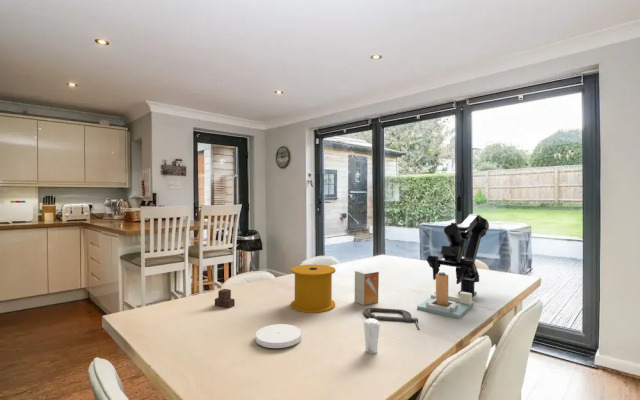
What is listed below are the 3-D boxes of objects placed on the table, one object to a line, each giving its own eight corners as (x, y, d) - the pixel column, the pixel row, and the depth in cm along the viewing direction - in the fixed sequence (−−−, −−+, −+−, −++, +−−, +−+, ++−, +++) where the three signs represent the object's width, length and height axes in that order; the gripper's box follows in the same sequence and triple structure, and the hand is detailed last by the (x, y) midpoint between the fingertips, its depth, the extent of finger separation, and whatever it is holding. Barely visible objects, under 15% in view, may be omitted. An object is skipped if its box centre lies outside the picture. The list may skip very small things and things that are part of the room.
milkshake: (359, 348, 97) (359, 314, 97) (377, 347, 98) (377, 313, 98) (362, 355, 93) (362, 319, 93) (381, 354, 93) (381, 319, 93)
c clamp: (418, 314, 128) (418, 306, 128) (420, 331, 111) (420, 323, 111) (365, 309, 133) (365, 302, 133) (359, 325, 116) (359, 317, 116)
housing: (434, 297, 147) (434, 290, 147) (473, 304, 137) (473, 297, 137) (417, 309, 131) (417, 301, 131) (459, 318, 121) (459, 310, 121)
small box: (364, 306, 135) (364, 273, 134) (354, 301, 140) (354, 270, 140) (378, 302, 139) (379, 271, 139) (368, 298, 144) (368, 268, 144)
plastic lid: (306, 348, 98) (306, 339, 98) (257, 354, 94) (257, 345, 94) (296, 329, 111) (296, 322, 111) (253, 334, 107) (253, 326, 107)
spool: (344, 305, 136) (344, 268, 136) (313, 316, 123) (313, 276, 122) (312, 295, 148) (312, 262, 148) (281, 305, 135) (281, 268, 135)
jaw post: (435, 304, 133) (435, 271, 133) (447, 305, 132) (447, 272, 132) (436, 308, 129) (436, 274, 129) (449, 309, 128) (449, 274, 127)
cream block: (445, 297, 142) (445, 288, 142) (471, 302, 135) (472, 293, 135) (443, 299, 139) (443, 290, 139) (470, 304, 133) (470, 294, 133)
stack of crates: (252, 303, 139) (252, 287, 139) (228, 315, 125) (228, 296, 125) (224, 298, 145) (224, 283, 145) (198, 309, 131) (198, 291, 131)
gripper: (428, 236, 142) (416, 266, 134) (474, 240, 130) (464, 273, 122) (435, 252, 148) (425, 281, 140) (480, 257, 136) (471, 290, 128)
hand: (445, 281), depth 132 cm, fingers open, 9 cm apart
